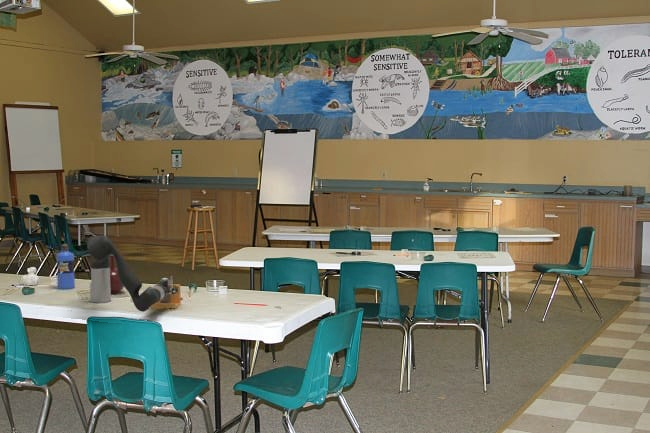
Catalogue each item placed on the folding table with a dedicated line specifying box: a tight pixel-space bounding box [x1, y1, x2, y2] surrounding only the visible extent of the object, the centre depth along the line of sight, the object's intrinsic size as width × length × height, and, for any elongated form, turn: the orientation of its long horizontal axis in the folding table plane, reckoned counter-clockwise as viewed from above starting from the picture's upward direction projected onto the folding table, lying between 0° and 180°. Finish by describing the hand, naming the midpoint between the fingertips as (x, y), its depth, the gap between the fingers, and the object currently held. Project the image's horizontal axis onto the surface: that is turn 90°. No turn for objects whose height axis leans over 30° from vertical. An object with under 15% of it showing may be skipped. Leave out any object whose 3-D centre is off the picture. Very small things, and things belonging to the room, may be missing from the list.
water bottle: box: [55, 243, 76, 291], centre depth 450 cm, size 9×9×25 cm
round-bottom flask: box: [109, 255, 125, 294], centre depth 434 cm, size 13×13×20 cm
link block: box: [159, 277, 171, 303], centre depth 395 cm, size 4×4×13 cm
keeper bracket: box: [149, 284, 182, 310], centre depth 396 cm, size 12×11×10 cm
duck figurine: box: [20, 266, 40, 286], centre depth 464 cm, size 12×8×11 cm
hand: (166, 287), depth 397 cm, fingers open, 8 cm apart
